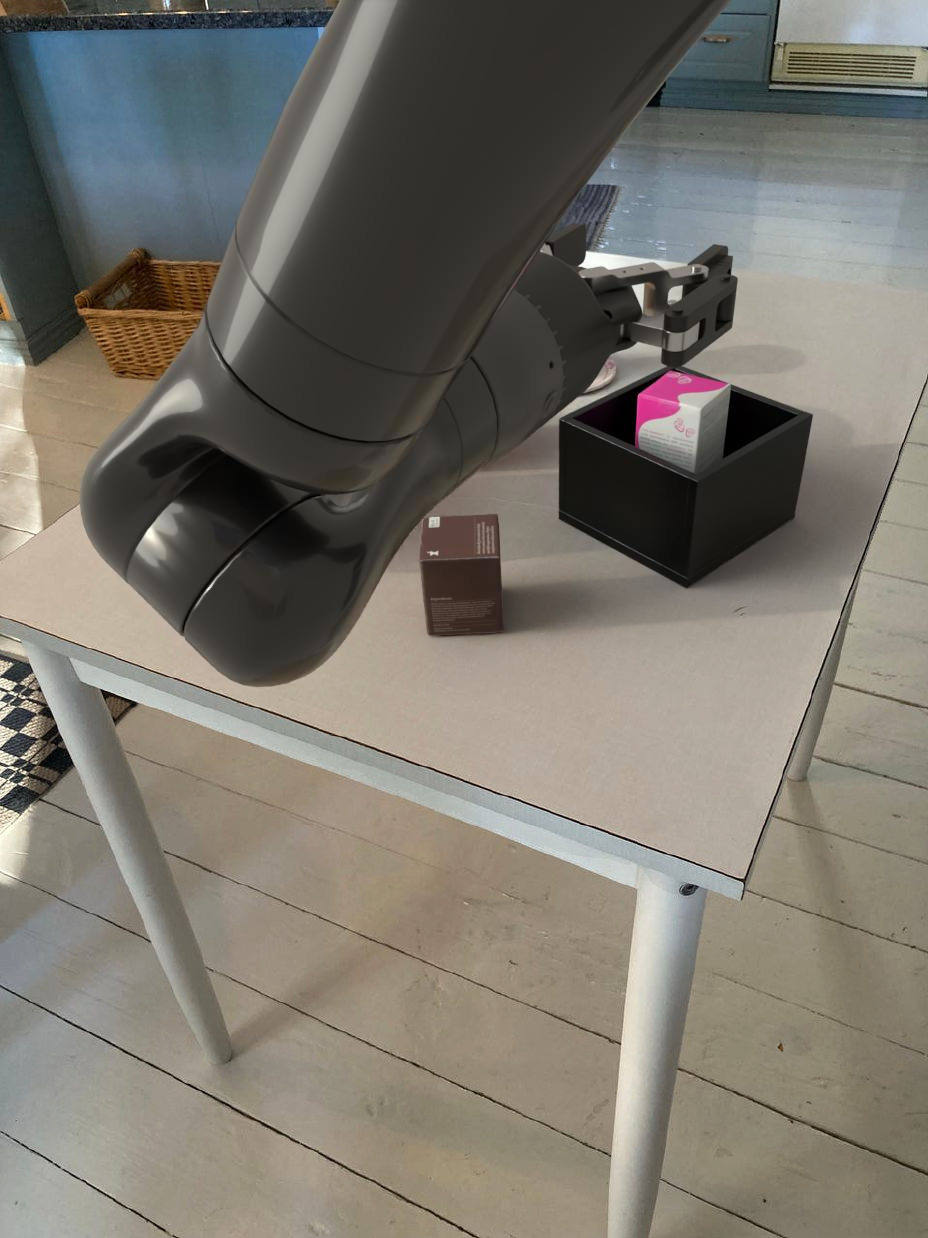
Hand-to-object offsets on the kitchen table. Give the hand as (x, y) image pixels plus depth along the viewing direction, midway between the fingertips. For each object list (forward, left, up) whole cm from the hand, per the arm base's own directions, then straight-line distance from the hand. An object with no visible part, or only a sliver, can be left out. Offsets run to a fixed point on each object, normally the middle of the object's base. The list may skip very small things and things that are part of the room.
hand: (648, 251), depth 55 cm
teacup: (+38, -31, -30) cm, 57 cm away
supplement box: (+10, -17, -29) cm, 35 cm away
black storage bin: (+10, -17, -30) cm, 36 cm away
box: (+13, +5, -30) cm, 33 cm away
